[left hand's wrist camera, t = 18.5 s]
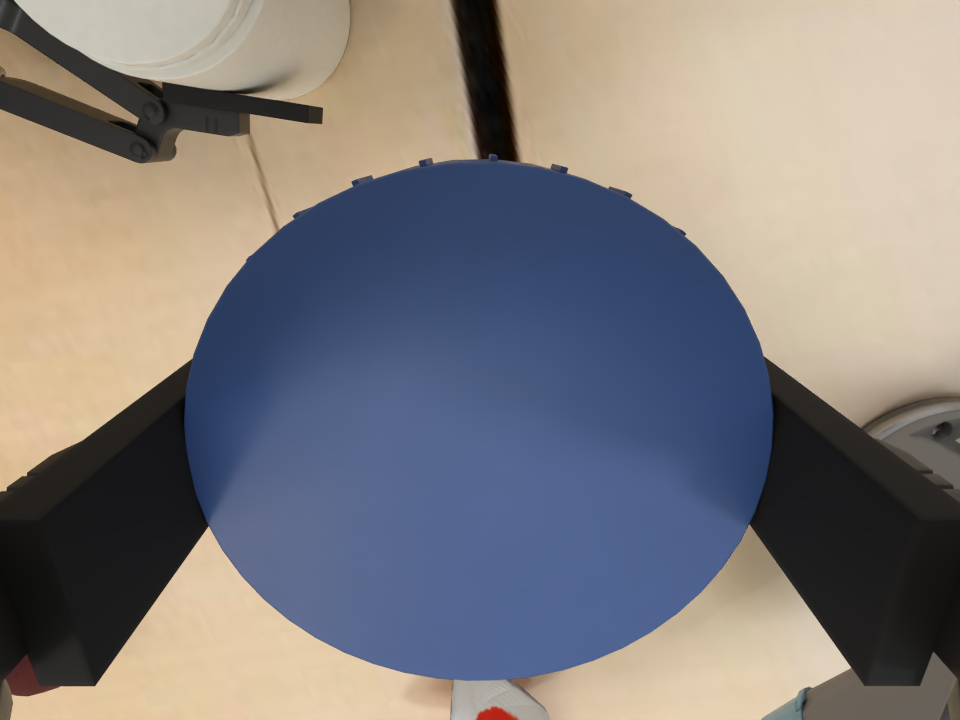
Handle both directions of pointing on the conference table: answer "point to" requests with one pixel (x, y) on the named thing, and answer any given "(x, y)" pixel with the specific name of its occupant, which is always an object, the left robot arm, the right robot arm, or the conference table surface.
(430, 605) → the lid
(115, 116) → the right robot arm
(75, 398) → the conference table surface
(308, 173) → the conference table surface
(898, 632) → the left robot arm
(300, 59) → the jar
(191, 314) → the conference table surface
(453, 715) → the fish
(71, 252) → the conference table surface
